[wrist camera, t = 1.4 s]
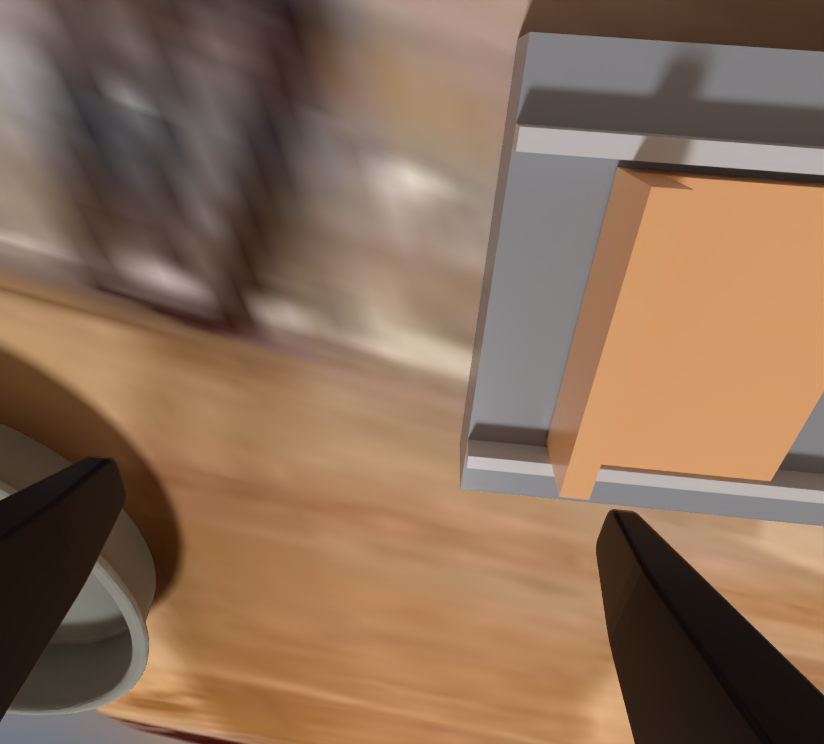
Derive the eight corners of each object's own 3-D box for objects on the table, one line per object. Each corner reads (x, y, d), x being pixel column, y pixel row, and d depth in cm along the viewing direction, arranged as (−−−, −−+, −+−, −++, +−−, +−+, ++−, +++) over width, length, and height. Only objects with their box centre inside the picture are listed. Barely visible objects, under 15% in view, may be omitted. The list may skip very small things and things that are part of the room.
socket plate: (1274, 90, 14) (1528, 96, 11) (938, 490, 23) (1023, 564, 19) (517, 38, 15) (535, 28, 12) (460, 444, 23) (460, 506, 20)
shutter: (908, 189, 14) (1008, 214, 11) (756, 462, 19) (801, 521, 16) (617, 167, 14) (651, 186, 12) (546, 442, 19) (559, 497, 17)
